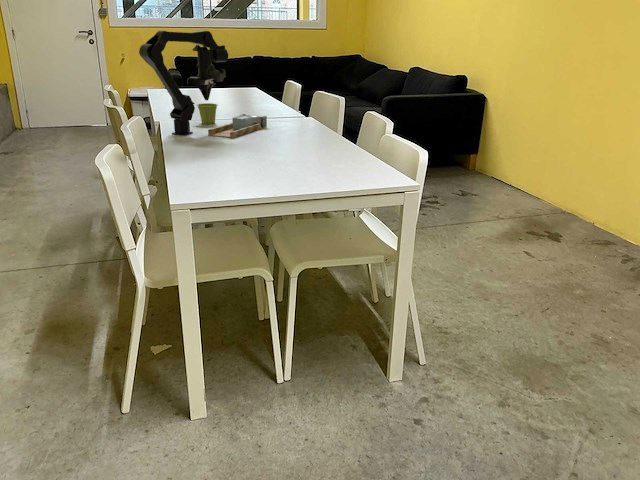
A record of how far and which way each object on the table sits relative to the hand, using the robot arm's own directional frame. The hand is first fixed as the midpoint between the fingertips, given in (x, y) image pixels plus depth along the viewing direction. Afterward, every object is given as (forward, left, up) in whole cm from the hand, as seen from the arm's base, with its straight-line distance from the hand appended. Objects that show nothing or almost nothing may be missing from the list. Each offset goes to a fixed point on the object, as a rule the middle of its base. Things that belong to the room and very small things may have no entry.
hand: (206, 100), depth 229 cm
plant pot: (+15, +10, -13) cm, 22 cm away
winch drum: (+19, -12, -13) cm, 26 cm away
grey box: (+10, -12, -12) cm, 20 cm away
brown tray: (+3, -12, -13) cm, 18 cm away
